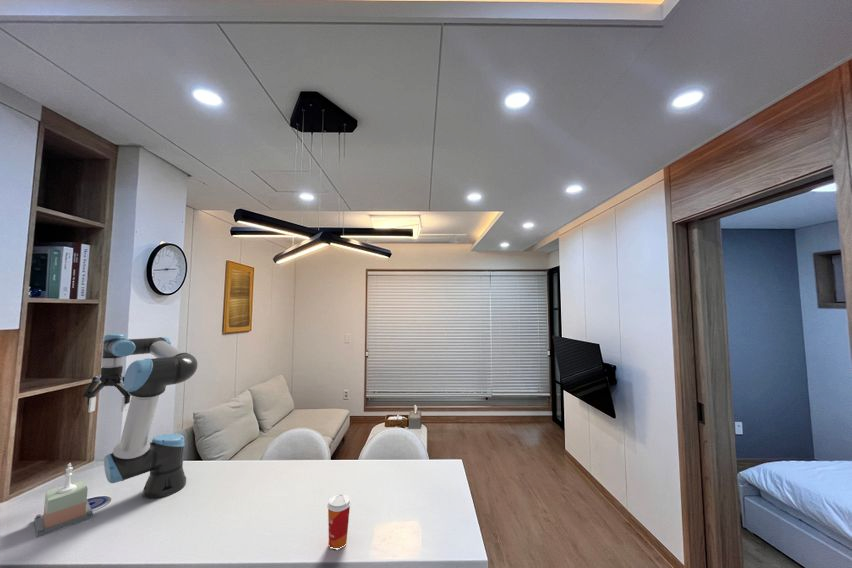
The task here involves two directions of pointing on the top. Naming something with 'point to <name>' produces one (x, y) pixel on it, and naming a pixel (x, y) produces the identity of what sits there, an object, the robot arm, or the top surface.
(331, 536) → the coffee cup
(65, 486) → the chess piece
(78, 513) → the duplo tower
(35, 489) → the top surface
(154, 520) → the top surface
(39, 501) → the top surface
